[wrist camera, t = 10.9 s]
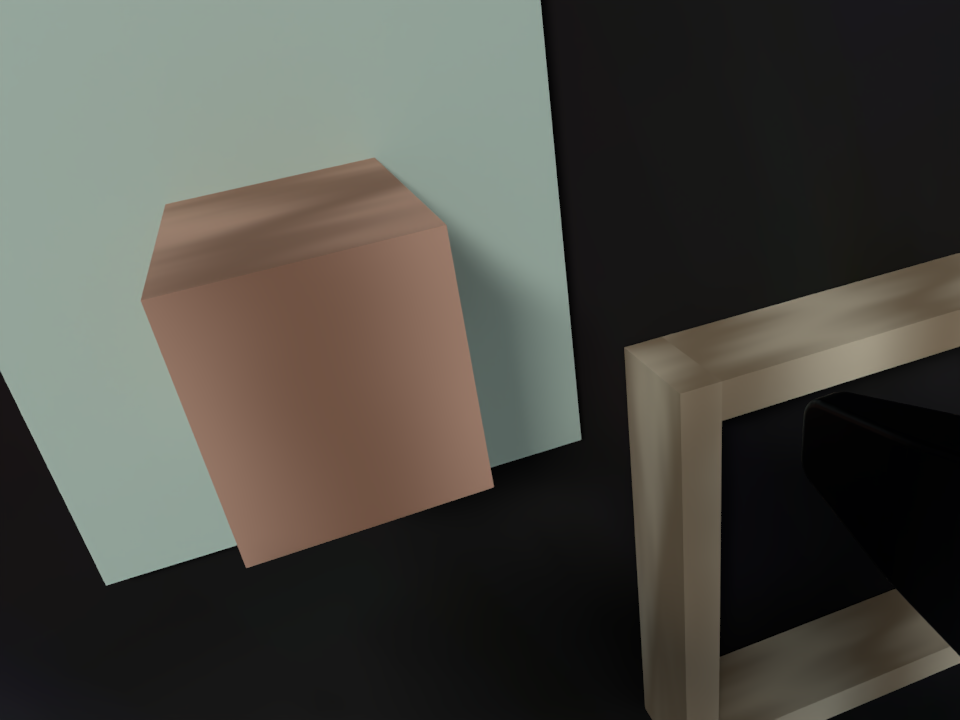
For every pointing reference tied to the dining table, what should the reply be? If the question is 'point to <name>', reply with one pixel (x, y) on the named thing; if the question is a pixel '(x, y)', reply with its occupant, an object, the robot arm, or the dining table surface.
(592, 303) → the dining table surface
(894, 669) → the pine frame
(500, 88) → the sage board
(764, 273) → the dining table surface
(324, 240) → the terracotta block
